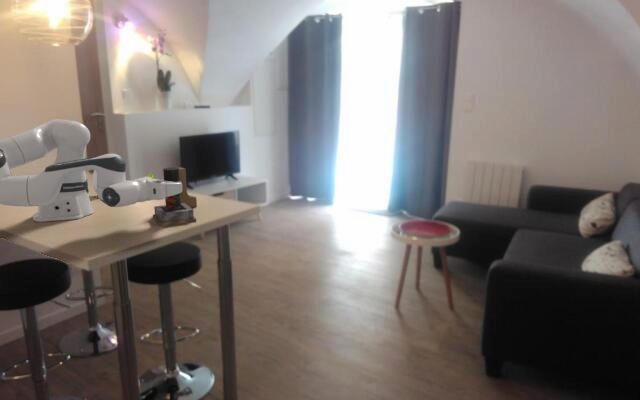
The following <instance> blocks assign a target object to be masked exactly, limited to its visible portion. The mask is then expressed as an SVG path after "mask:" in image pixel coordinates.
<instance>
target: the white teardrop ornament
mask: <svg viewBox="0 0 640 400" xmlns="http://www.w3.org/2000/svg"><path fill="white" fill-rule="evenodd" d="M91 183H92V187H93V188H92V189H93V191H94V192H95V193H96V194H97V195H98V191H97V172H96V170H93V173H92V180H91Z"/></svg>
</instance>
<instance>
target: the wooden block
mask: <svg viewBox="0 0 640 400" xmlns="http://www.w3.org/2000/svg"><path fill="white" fill-rule="evenodd" d="M177 168H179V178H180V182H182V192H181V193H180V195H181V203H186V204H187V205H188V206H189V207H190V208H192V209H193V208H196V207H197V205H198V203H197V201H198V200H197V197H196V196H194V195H189V194H188V190H187V189H188V187H187V172H186V171H187V170H186V168H184V167H180V166H179V167H177Z"/></svg>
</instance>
